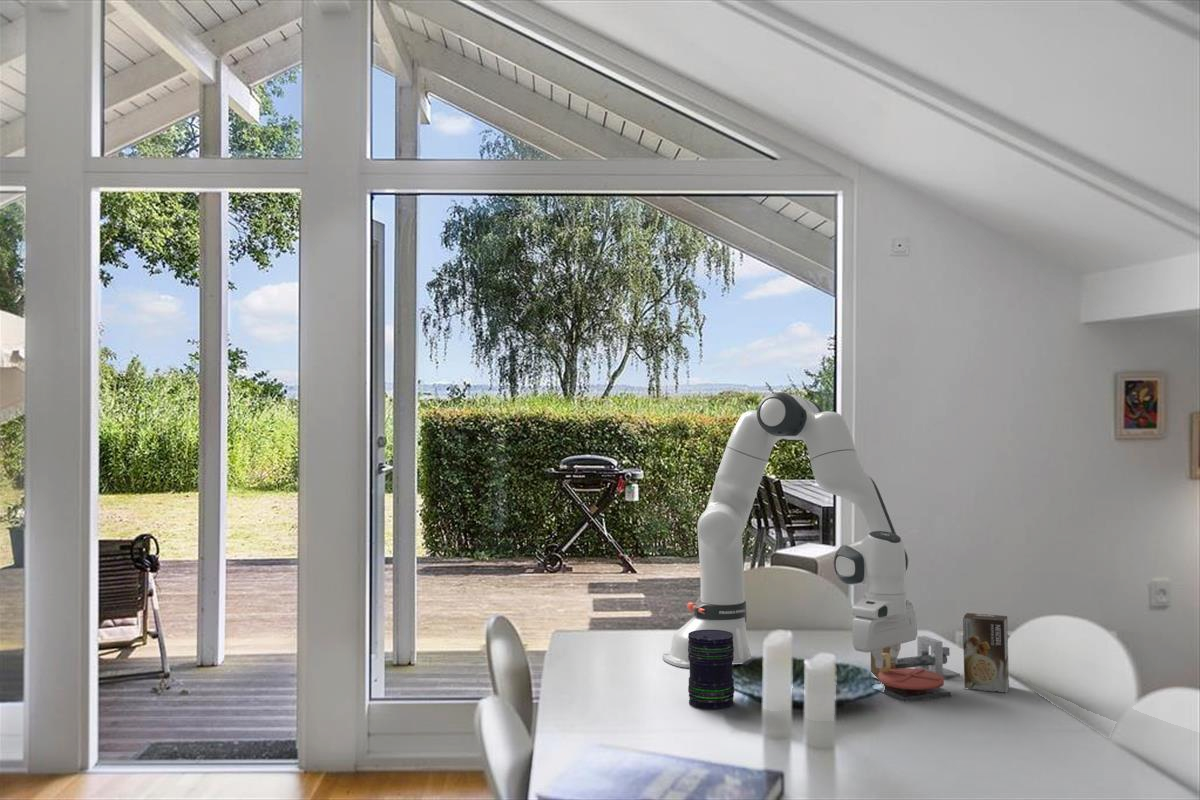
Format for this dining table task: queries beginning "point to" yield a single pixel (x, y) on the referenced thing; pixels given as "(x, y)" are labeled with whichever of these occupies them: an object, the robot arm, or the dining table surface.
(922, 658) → the hook
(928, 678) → the handwheel
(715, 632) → the storage jar
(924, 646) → the eye bracket
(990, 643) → the coffee box
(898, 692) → the wheel base
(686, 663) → the robot arm
